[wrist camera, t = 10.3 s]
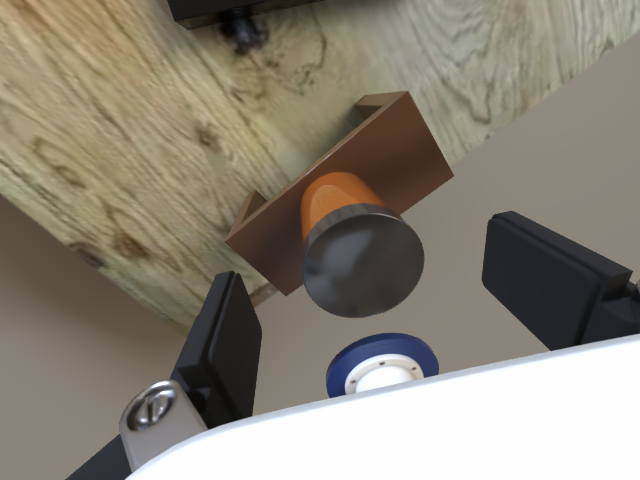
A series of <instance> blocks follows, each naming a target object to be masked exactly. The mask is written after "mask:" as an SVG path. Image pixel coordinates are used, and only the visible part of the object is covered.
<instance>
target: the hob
mask: <svg viewBox="0 0 640 480" xmlns="http://www.w3.org/2000/svg"><path fill="white" fill-rule="evenodd" d="M167 1H168V4H169V7H170V10H171V13H172V15H173V18H174V21H175V22H177V23H178V24H179V25H181V26H182V27H184V28H185V29H187V30H190V29H195V28H199V27H204V26H209V25H213V24H218V23H222V22H227V21H231V20H236V19H241V18H245V17H250V16H254V15H259V14H264V13H268V12H273V11H277V10H282V9H287V8H291V7H296V6H300V5H305V4H310V3H314V2H319V1H323V0H167Z"/></svg>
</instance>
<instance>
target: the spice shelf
mask: <svg viewBox="0 0 640 480" xmlns="http://www.w3.org/2000/svg"><path fill="white" fill-rule="evenodd" d="M355 107H356V108H357V110H358V111H359V113H360V114H361V116H362V117H363V119H364V122H363V123H362V124H360V125H359V126H358V127H357V128H356V129H354V130H353V131H352V132H351V133H349V134H348V135H347V136H346V137H345V138H343V139H342V140H341V141H340V142H339V143H337V144H336V145H335V146H334V147H333V148H331V149H330V150H329V151H328V152H327V153H325V154H324V155H323V156H322V157H321V158H319V159H318V160H317V161H316V162H315V163H313V164H312V165H311V166H310V167H308V168H307V169H306V170H305V171H304V172H302V173H301V174H300V175H299V176H298V177H296V178H295V179H294V180H293V181H292V182H290V183H289V184H288V185H287V186H286V187H284V188H283V189H282V190H281V191H280V192H278V193H277V194H276V195H275V196H274V197H272V198H271V199H270V200H269V201H266V200H265V199H264V198H263V197H262V196H261V195H260V194H259V193H258V192H257V190H254V191H253V192H251V193H250V194H249V195H248V196H247V197H246V199H245V201H244V203H243V205H242V207H241V209H240V211H239V214H238V216H237V218H236V220H235V222H234V224H233V226H232V228H231V230H230V232H229V234H228V236H227V238H226V240H225V243H227V244H228V245H229V246H230V247H231V248H232V249H233V250H234V251H236V252H237V253H238V254H239V255H240V256H241V257H242V258H243V259H245V260H246V261H247V262H248V263H249V264H250V265H251V266H252V267H253V268H255V269H256V270H257V271H258V272H259V273H260V274H261V275H262V276H264V277H265V278H266V279H267V280H268V281H269V282H270V283H271V284H273V285H274V286H275V287H276V288H277V289H278V290H279V291H280V292H281V293H283V294H284V295H285V296H287V295H289V294H290V293H291V292H293V291H294V290H296V289H297V288H299V287H300V286H301V285H303V284H304V283H303V277H302V262H301V255H302V248H303V245H302V232H301V219H300V204H301V200H302V197H303V195H304V193H305V191H306V189H307V188H308V187H309V186H310V185H311V184H312V182H314V181H315V180H316V179H318V178H319V177H321V176H323V175H326V174H329V173H333V172H347V173H351V174H354V175H356V176H358V177H359V178H361V179H362V180H364V181H365V182H366V183H367V185H368V186H369V187H370V188H371V189H372V190H373V191H374V192H375V193H376V194H377V195H378V196H379V197H380V198H381V200H382V201H383V202H384V203H385V204H386V205H387V206H388V207H389V208H390V209H391V210H392V211H394V212H396V213H397V214H398V215H400V214H402V213H403V212H405V211H406V210H407V209H409V208H410V207H412V206H413V205H414V204H416V203H417V202H419V201H420V200H421V199H423V198H424V197H426V196H427V195H428V194H430V193H431V192H433V191H434V190H435V189H437V188H438V187H439V186H441V185H442V184H444V183H445V182H447V181H448V180H449V179H451V178H452V177H453V176H454V174H453V173H452V171H451V169H450V167H449V165H448V163H447V162H446V160H445V158H444V156H443V154H442V152H441V150H440V149H439V147H438V145H437V143H436V141H435V139H434V138H433V136H432V134H431V132H430V130H429V128H428V127H427V125H426V123H425V121H424V119H423V117H422V115H421V114H420V112H419V110H418V108H417V106H416V104H415V103H414V101H413V99H412V97H411V95H410V93H409V91H401V92H392V93H383V94H373V95H365V96H364V97H363V98H362V99H360V100H359V101H358V102H357V103H356V104H355Z"/></svg>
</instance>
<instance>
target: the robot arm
mask: <svg viewBox="0 0 640 480" xmlns="http://www.w3.org/2000/svg"><path fill="white" fill-rule="evenodd" d="M632 272H633V271H632V270H630V269H628V268H626V267H624V266H622V265H620V264H618V263H615V262H614V261H611V260H610V259H608V258H606V257H604V256H602V255H600V254H598V253H596V252H594V251H592V250H590V249H588V248H586V247H584V246H582V245H580V244H578V243H576V242H574V241H572V240H570V239H568V238H566V237H564V236H562V235H560V234H558V233H556V232H554V231H552V230H550V229H548V228H546V227H544V226H542V225H540V224H538V223H536V222H534V221H532V220H530V219H528V218H526V217H524V216H522V215H520V214H518V213H516V212H514V211H508V212H503V213H498V214H495V215H493V217H492V219H490V220H489V222H488V226H487V234H486V243H485V253H484V262H483V271H482V282H483V285H484V286H485V288H486V289H487V290H488V291H489V292H490V293H491V294H493V295H494V296H495V297H496V298H497V299H498V300H499V301H500V302H501V303H502V304H503V305H504V306H505V307H506V308H507V309H508V310H509V311H510V312H511V313H512V314H513V315H514V316H515V317H516V318H517V319H519V320H520V321H521V322H522V323H523V324H524V325H525V326H526V327H527V328H528V329H529V330H530V331H531V332H532V333H533V334H534V335H535V336H536V337H537V338H538V339H539V340H540V341H541V342H542V343H543V344H544V345H545V346H546V347H547V348H548V349H549V350H550V352H545V353H540V354H535V355H530V356H525V357H521V358H516V359H512V360H506V361H501V362H497V363H492V364H487V365H483V366H478V367H473V368H469V369H464V370H459V371H454V372H450V373H445V374H440V375H435V376H431V377H426V378H424V376H423V372H422V370H421V368H420V366H419V365H418V363H417V362H416V361H414V360H413V359H412V358H410V357H408V356H404V355H400V354H383V355H378V356H375V357H372V358H369V359H367V360H365V361H363V362H361V363H360V364H358V365H357V366H356V367H355V368H354V369H353V370H352V371H351V372H350V373H349V375H348V376H347V379H346V382H345V391H346V395H343V396H339V397H334V398H330V399H325V400H320V401H316V402H311V403H307V404H303V405H299V406H294V407H290V408H286V409H282V410H277V411H274V412H269V413H265V414H260V415H256V416H252V413H253V404H254V396H255V388H256V380H257V372H258V363H259V355H260V347H261V339H262V329H261V326H260V323H259V320H258V318H257V315H256V313H255V310H254V308H253V305H252V303H251V300H250V298H249V295H248V293H247V290H246V288H245V285H244V283H243V280H242V278H241V275H240V274H239V273H237V274H235V273H234V271H228V272H224V273H219V274H216V276H215V278H214V281H213V283H212V285H211V288H210V290H209V292H208V295H207V297H206V299H205V302H204V304H203V307H202V309H201V311H200V314H199V315H198V316H197V317H196V319H195V321H194V323H193V326H192V328H191V330H190V333H189V335H188V337H187V340H186V342H185V344H184V347H183V349H182V351H181V353H180V356H179V358H178V360H177V363H176V365H175V368H174V370H173V372H172V374H171V377H170V379H166V380H161V381H158V382H156V383H153V384H151V385H150V386H148V387H147V388H145V389H143V390H142V391H141V392H140V393H139V394H137V395H136V396H135V397H134V398H133V400H132V401H131V402H130V403H129V404H128V405H127V407H126V409H125V410H124V412H123V413H122V416H121V419H120V422H119V431H120V434H119V435H118V436H116V437H115V438H114V439H113V440H112V441H111V442H109V443H108V444H107V445H106V446H105V447H103V448H102V449H101V450H100V451H99V452H98V453H96V454H95V455H94V456H93V457H92V458H90V459H89V460H88V461H87V462H86V463H85V464H83V465H82V466H81V467H80V468H79V469H77V470H76V471H75V472H74V473H73V474H71V475H70V476H69V477H68V478H67V479H66V480H640V280H639V281H638V282H637V284H636V285H635V284H633V283H632V282H630V281H629V279H630V277H631V275H632Z"/></svg>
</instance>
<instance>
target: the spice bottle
mask: <svg viewBox="0 0 640 480" xmlns="http://www.w3.org/2000/svg"><path fill="white" fill-rule="evenodd" d="M300 219H301V232H302V245H303V248H302V255H301V262H302V277H303V283H304V286H305V288H306V291H307V292H308V294H309V296H310V297H311V299H312V300H313V301H314V302H315V303H316V304H317V305H318V306H319V307H321V308H322V309H324V310H325V311H327V312H329V313H332V314H334V315H337V316H341V317H346V318H365V317H371V316H375V315H378V314H381V313H384V312H386V311H388V310H390V309H392V308H394V307H395V306H397V305H398V304H400V303H401V302H402V301H403V300H405V299H406V298H407V297H408V296H409V295H410V293H411V292H412V291H413V290H414V288H415V287H416V285H417V284H418V281H419V280H420V277H421V274H422V272H423V267H424V251H423V246H422V243H421V241H420V239H419V237H418V235H417V234H416V232H415V231H414V230H413V229H412V228H411V227H410V226H409V225H408V224H407V223H406V222H405V221H404V219H403V218H401V216H399V215H398V214H397V213H396V212H394V211H392V210H391V209H390V208H389V207H388V206H387V205H386V204H385V203H384V202H383V201H382V200H381V198H380V197H379V196H378V195H377V194H376V193H375V192H374V191H373V190H372V189H371V188H370V187H369V186H368V185H367V183H366V182H365V181H364V180H362V179H361V178H359V177H358V176H356V175H354V174H351V173H347V172H333V173H329V174H326V175H323V176H321V177H319V178H318V179H316V180H315V181H314V182H312V184H311V185H310V186H309V187H308V188H307V189H306V191H305V193H304V195H303V197H302V200H301V204H300Z"/></svg>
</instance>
